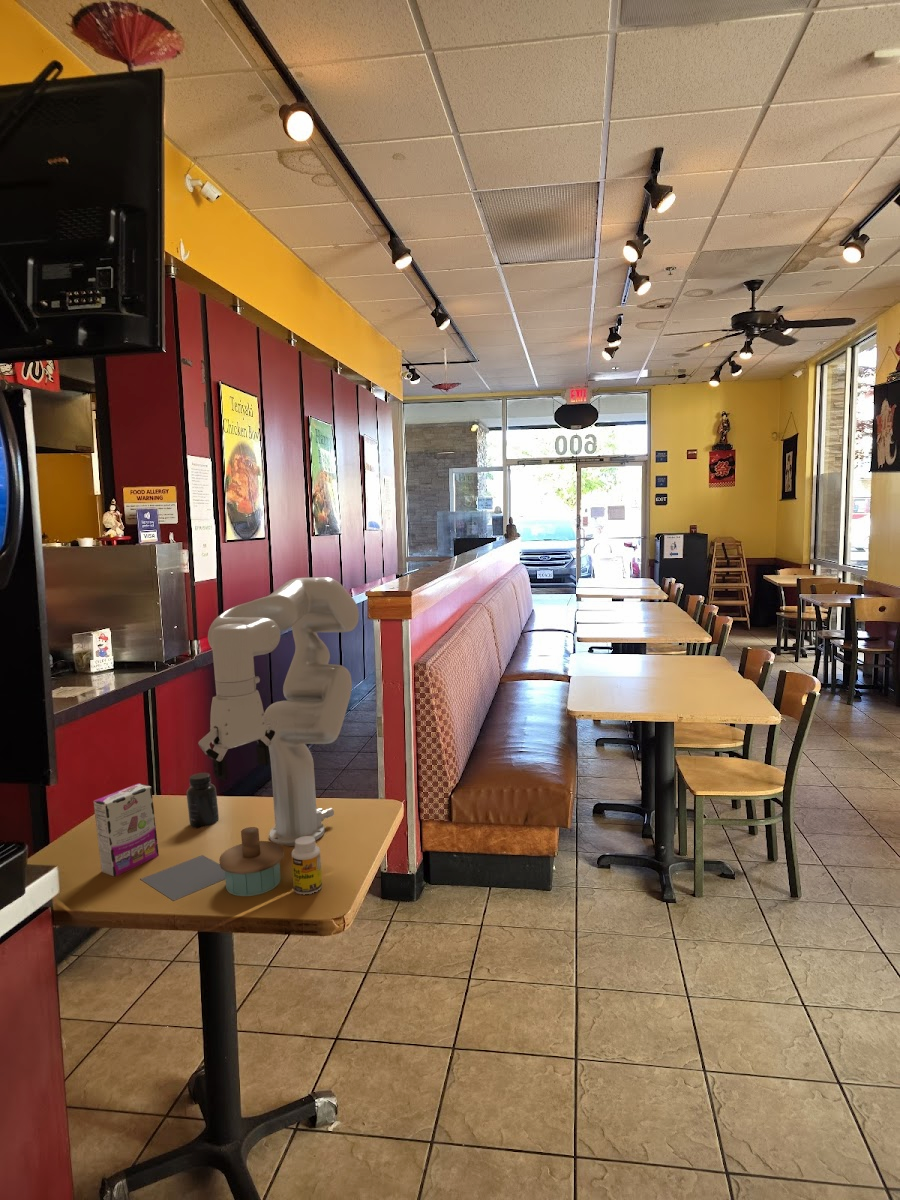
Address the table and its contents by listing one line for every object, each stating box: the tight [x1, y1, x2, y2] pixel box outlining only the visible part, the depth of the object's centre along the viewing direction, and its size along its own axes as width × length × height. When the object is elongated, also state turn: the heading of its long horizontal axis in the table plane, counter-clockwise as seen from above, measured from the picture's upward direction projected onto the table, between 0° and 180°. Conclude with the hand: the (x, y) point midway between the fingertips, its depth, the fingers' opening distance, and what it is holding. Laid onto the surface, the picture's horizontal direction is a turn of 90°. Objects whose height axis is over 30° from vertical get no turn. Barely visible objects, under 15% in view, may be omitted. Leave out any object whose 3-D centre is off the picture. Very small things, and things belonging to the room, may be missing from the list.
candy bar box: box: [92, 783, 160, 877], centre depth 166 cm, size 11×5×16 cm, turn 148°
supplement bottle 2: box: [291, 836, 323, 896], centre depth 153 cm, size 6×6×10 cm
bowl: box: [224, 861, 282, 897], centre depth 156 cm, size 11×11×6 cm
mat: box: [140, 854, 225, 902], centre depth 160 cm, size 14×14×1 cm
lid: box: [219, 826, 285, 874], centre depth 155 cm, size 12×12×6 cm
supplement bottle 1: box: [186, 772, 220, 829], centre depth 188 cm, size 7×7×12 cm
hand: (242, 771), depth 154 cm, fingers open, 9 cm apart
